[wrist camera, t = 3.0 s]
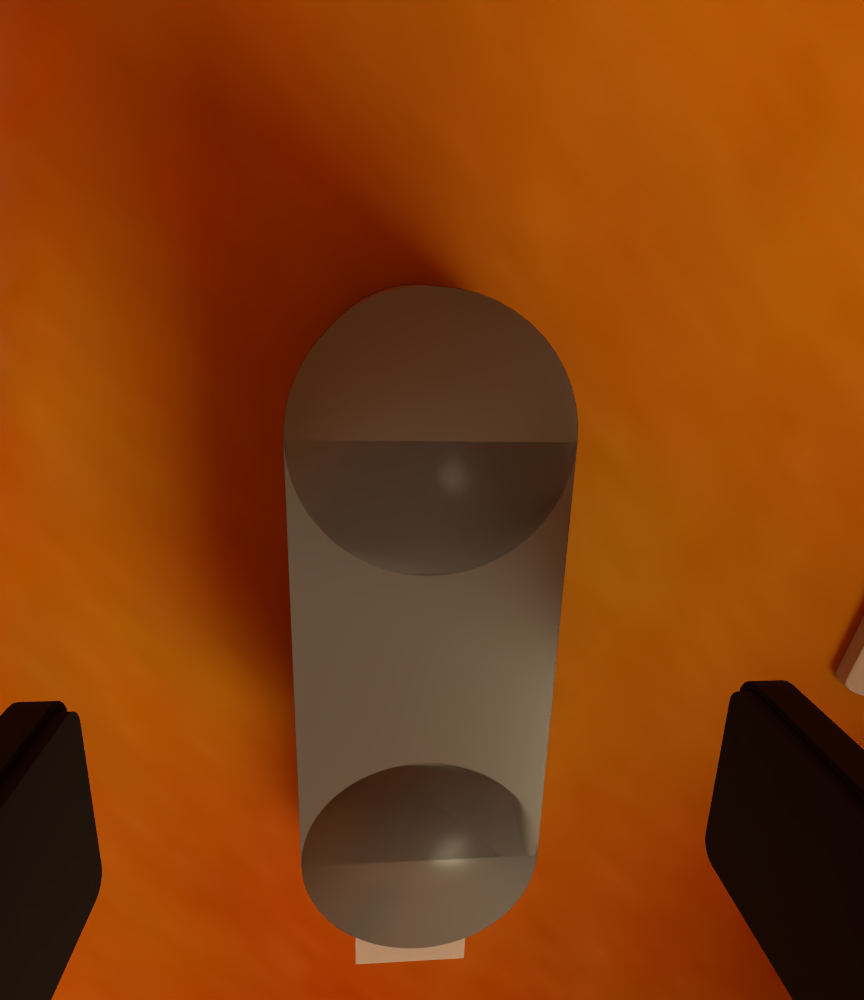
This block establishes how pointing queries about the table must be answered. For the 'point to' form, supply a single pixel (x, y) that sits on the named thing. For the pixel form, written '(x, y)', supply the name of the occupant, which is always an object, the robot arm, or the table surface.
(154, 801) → the table surface
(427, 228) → the table surface
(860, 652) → the smartphone
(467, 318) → the dongle
